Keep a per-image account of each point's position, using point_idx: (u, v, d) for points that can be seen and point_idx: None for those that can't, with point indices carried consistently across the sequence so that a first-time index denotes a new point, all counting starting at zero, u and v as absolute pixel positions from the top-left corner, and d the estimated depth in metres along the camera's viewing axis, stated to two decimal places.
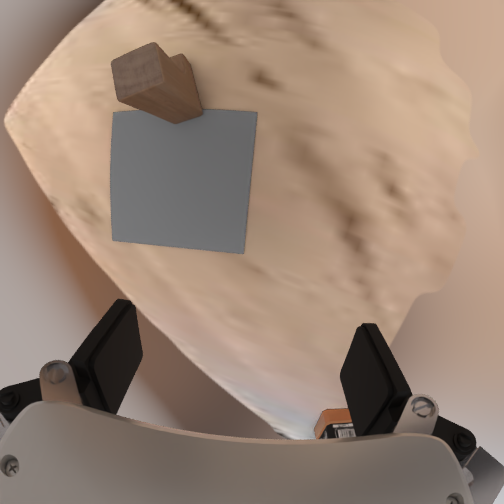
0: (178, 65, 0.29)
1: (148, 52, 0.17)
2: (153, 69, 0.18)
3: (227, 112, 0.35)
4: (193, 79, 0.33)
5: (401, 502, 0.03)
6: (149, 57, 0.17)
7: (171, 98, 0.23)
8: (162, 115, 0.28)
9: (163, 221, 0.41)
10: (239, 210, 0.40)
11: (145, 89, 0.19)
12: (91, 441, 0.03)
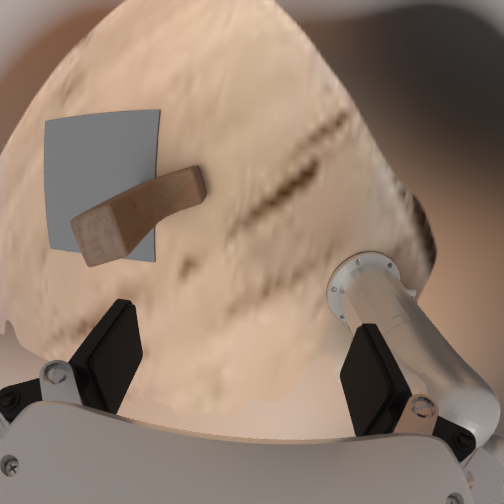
0: (184, 201, 0.32)
1: (114, 251, 0.20)
2: (96, 258, 0.20)
3: (151, 235, 0.39)
4: None
5: (401, 502, 0.03)
6: (108, 253, 0.20)
7: None
8: None
9: (60, 176, 0.35)
10: (77, 245, 0.39)
11: (80, 249, 0.20)
12: (91, 441, 0.03)
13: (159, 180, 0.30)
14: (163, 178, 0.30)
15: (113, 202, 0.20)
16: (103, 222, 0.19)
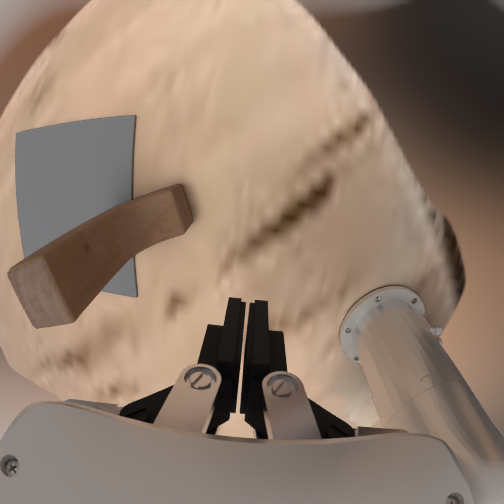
0: (162, 232, 0.25)
1: (57, 316, 0.13)
2: (41, 320, 0.14)
3: (131, 267, 0.32)
4: None
5: (401, 502, 0.03)
6: (52, 317, 0.13)
7: None
8: None
9: (32, 196, 0.29)
10: None
11: (23, 307, 0.13)
12: (91, 441, 0.03)
13: (129, 206, 0.23)
14: (134, 203, 0.24)
15: (51, 250, 0.13)
16: (39, 279, 0.12)
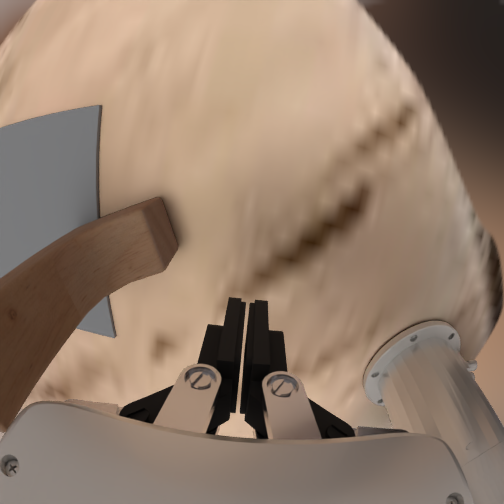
0: (133, 270, 0.17)
1: None
2: None
3: (105, 303, 0.24)
4: None
5: (401, 502, 0.03)
6: None
7: None
8: None
9: None
10: None
11: None
12: (91, 441, 0.03)
13: (84, 235, 0.15)
14: (92, 230, 0.15)
15: None
16: None
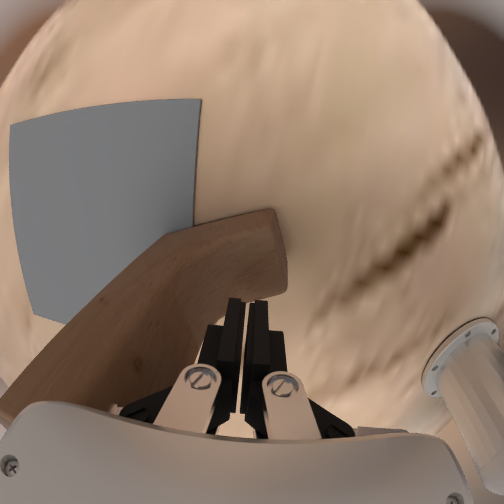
0: (251, 290, 0.17)
1: None
2: None
3: None
4: None
5: (401, 502, 0.03)
6: None
7: None
8: None
9: (33, 213, 0.21)
10: (69, 317, 0.25)
11: None
12: (91, 441, 0.03)
13: (200, 251, 0.15)
14: (209, 246, 0.15)
15: None
16: None
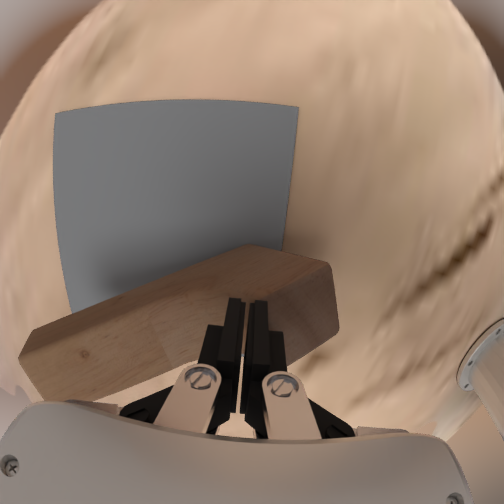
0: None
1: None
2: None
3: None
4: None
5: (401, 502, 0.03)
6: None
7: None
8: None
9: (85, 214, 0.21)
10: None
11: None
12: (91, 441, 0.03)
13: (199, 292, 0.15)
14: (209, 290, 0.14)
15: (29, 353, 0.11)
16: None
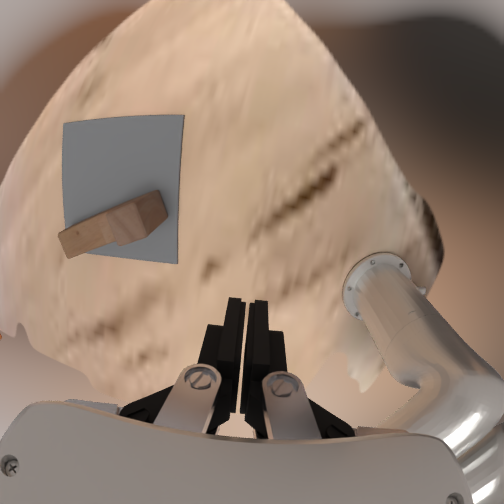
0: None
1: None
2: None
3: (175, 238, 0.40)
4: None
5: (401, 502, 0.03)
6: None
7: None
8: None
9: (80, 179, 0.37)
10: (96, 248, 0.41)
11: None
12: (91, 441, 0.03)
13: None
14: (111, 210, 0.33)
15: (61, 232, 0.36)
16: None
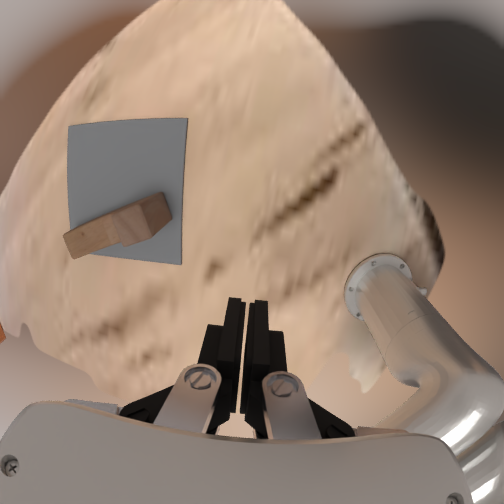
0: None
1: None
2: None
3: (179, 239, 0.41)
4: None
5: (401, 502, 0.03)
6: None
7: None
8: None
9: (85, 181, 0.38)
10: (101, 249, 0.42)
11: None
12: (91, 441, 0.03)
13: (114, 213, 0.35)
14: (116, 212, 0.34)
15: (66, 233, 0.37)
16: None
